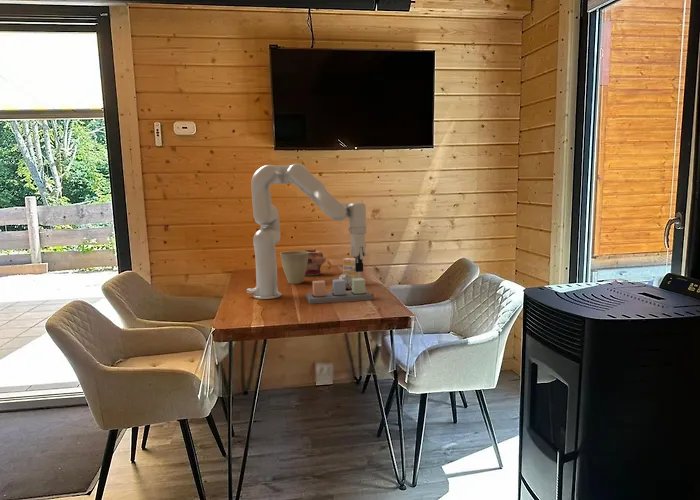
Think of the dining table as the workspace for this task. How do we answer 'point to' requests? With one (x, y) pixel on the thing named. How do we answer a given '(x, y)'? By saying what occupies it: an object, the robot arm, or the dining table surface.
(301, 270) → the plant pot
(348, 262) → the supplement box
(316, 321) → the dining table surface
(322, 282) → the terracotta block
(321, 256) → the decorative planter
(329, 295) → the board
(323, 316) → the dining table surface
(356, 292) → the sage block
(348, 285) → the game die
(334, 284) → the slate block
